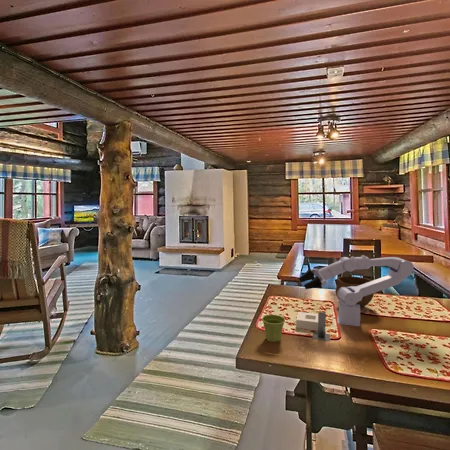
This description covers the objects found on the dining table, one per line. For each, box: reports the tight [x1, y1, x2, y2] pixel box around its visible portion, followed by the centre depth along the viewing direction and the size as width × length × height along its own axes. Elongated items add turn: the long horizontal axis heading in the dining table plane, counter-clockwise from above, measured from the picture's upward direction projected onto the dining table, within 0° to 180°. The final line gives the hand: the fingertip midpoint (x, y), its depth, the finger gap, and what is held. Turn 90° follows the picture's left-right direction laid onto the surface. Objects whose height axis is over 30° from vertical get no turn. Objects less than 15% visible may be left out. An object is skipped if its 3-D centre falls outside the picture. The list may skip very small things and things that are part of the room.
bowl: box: [335, 275, 375, 308], centre depth 163 cm, size 19×19×15 cm
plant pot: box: [261, 314, 286, 343], centre depth 126 cm, size 9×9×9 cm
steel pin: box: [317, 311, 327, 338], centre depth 127 cm, size 3×3×10 cm
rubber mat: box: [312, 331, 331, 342], centre depth 128 cm, size 7×7×1 cm
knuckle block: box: [295, 311, 318, 332], centre depth 139 cm, size 12×10×4 cm
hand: (302, 283), depth 141 cm, fingers open, 7 cm apart
